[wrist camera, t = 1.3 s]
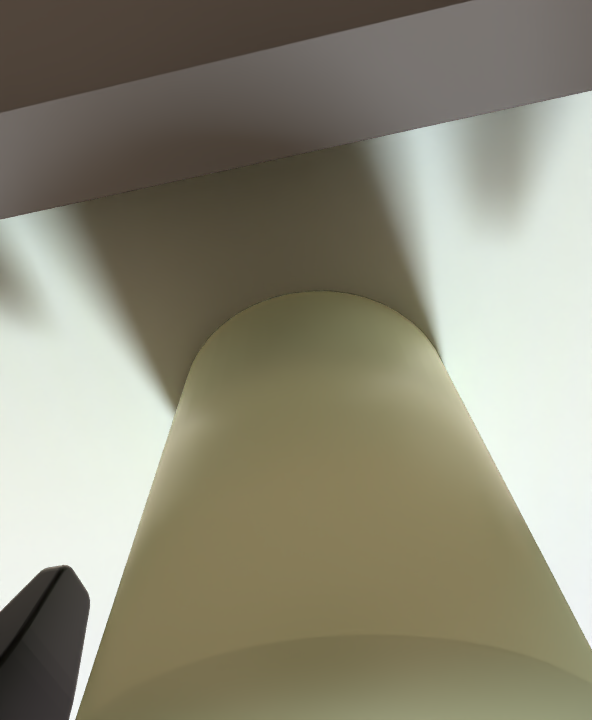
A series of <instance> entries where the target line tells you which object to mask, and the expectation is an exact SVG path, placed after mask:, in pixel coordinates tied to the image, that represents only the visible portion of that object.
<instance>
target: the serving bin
mask: <svg viewBox="0 0 592 720" xmlns="http://www.w3.org/2000/svg"><path fill="white" fill-rule="evenodd" d="M587 91H592V0H0V219H5V218H9V217H14V216H18V215H23V214H28V213H32V212H37V211H41V210H46V209H51V208H55V207H60V206H64V205H69V204H74V203H78V202H83V201H87V200H92V199H96V198H101V197H106V196H110V195H115V194H119V193H124V192H129V191H133V190H138V189H142V188H147V187H151V186H156V185H161V184H165V183H170V182H174V181H179V180H184V179H188V178H193V177H197V176H202V175H206V174H211V173H216V172H220V171H225V170H229V169H234V168H239V167H243V166H248V165H252V164H257V163H261V162H266V161H271V160H275V159H280V158H284V157H289V156H294V155H298V154H303V153H307V152H312V151H317V150H321V149H326V148H330V147H335V146H339V145H344V144H349V143H353V142H358V141H362V140H367V139H372V138H376V137H381V136H385V135H390V134H394V133H399V132H404V131H408V130H413V129H417V128H422V127H427V126H431V125H436V124H440V123H445V122H449V121H454V120H459V119H463V118H468V117H472V116H477V115H482V114H486V113H491V112H495V111H500V110H504V109H509V108H514V107H518V106H523V105H527V104H532V103H537V102H541V101H546V100H550V99H555V98H560V97H564V96H569V95H573V94H578V93H582V92H587Z"/></svg>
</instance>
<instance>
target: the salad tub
mask: <svg viewBox="0 0 592 720" xmlns="http://www.w3.org/2000/svg"><path fill="white" fill-rule="evenodd" d="M75 720H592V649H591V647H590V646H589V644H588V642H587V640H586V638H585V636H584V634H583V632H582V630H581V628H580V626H579V624H578V622H577V621H576V619H575V617H574V615H573V613H572V611H571V609H570V607H569V605H568V603H567V601H566V599H565V597H564V596H563V594H562V592H561V590H560V588H559V586H558V584H557V582H556V580H555V578H554V576H553V574H552V572H551V571H550V569H549V567H548V565H547V563H546V561H545V559H544V557H543V555H542V553H541V551H540V549H539V547H538V546H537V544H536V542H535V540H534V538H533V536H532V534H531V532H530V530H529V528H528V526H527V524H526V522H525V520H524V519H523V517H522V515H521V513H520V511H519V509H518V507H517V505H516V503H515V501H514V499H513V497H512V495H511V494H510V492H509V490H508V488H507V486H506V484H505V482H504V480H503V478H502V476H501V474H500V472H499V470H498V469H497V467H496V465H495V463H494V461H493V459H492V457H491V455H490V453H489V451H488V449H487V447H486V445H485V444H484V442H483V440H482V438H481V436H480V434H479V432H478V430H477V428H476V426H475V424H474V422H473V420H472V419H471V417H470V415H469V413H468V411H467V409H466V407H465V405H464V403H463V401H462V399H461V397H460V395H459V394H458V392H457V390H456V388H455V386H454V384H453V382H452V380H451V378H450V376H449V374H448V372H447V370H446V369H445V367H444V365H443V363H442V361H441V359H440V357H439V355H438V353H437V351H436V349H435V348H434V346H433V345H432V344H431V342H430V341H429V339H428V338H427V337H426V335H425V334H424V333H423V332H422V331H421V330H420V329H419V328H418V327H417V326H416V325H415V324H414V323H412V322H411V321H410V320H408V319H407V318H406V317H404V316H403V315H402V314H400V313H399V312H397V311H395V310H393V309H391V308H390V307H388V306H386V305H384V304H381V303H379V302H376V301H374V300H371V299H369V298H365V297H361V296H357V295H353V294H349V293H342V292H333V291H306V292H298V293H291V294H286V295H282V296H278V297H274V298H271V299H268V300H265V301H263V302H260V303H258V304H255V305H253V306H251V307H249V308H247V309H245V310H244V311H242V312H240V313H238V314H236V315H235V316H234V317H232V318H231V319H230V320H228V321H227V322H226V323H224V324H223V325H222V326H220V327H219V328H218V329H217V330H216V331H215V332H214V333H213V334H212V335H211V336H210V337H209V339H208V340H207V341H206V342H205V344H204V345H203V346H202V348H201V349H200V350H199V352H198V354H197V356H196V358H195V359H194V361H193V363H192V365H191V368H190V371H189V374H188V376H187V379H186V382H185V385H184V388H183V391H182V395H181V398H180V401H179V404H178V407H177V410H176V413H175V416H174V419H173V422H172V425H171V428H170V431H169V434H168V437H167V440H166V444H165V447H164V450H163V453H162V456H161V459H160V462H159V465H158V468H157V471H156V474H155V477H154V480H153V483H152V486H151V489H150V493H149V496H148V499H147V502H146V505H145V508H144V511H143V514H142V517H141V520H140V523H139V526H138V529H137V532H136V535H135V539H134V542H133V545H132V548H131V551H130V554H129V557H128V560H127V563H126V566H125V569H124V572H123V575H122V578H121V581H120V584H119V588H118V591H117V594H116V597H115V600H114V603H113V606H112V609H111V612H110V615H109V618H108V621H107V624H106V627H105V630H104V634H103V637H102V640H101V643H100V646H99V649H98V652H97V655H96V658H95V661H94V664H93V667H92V670H91V673H90V676H89V679H88V683H87V686H86V689H85V692H84V695H83V698H82V701H81V704H80V707H79V710H78V713H77V716H76V719H75Z"/></svg>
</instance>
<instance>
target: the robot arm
mask: <svg viewBox="0 0 592 720" xmlns="http://www.w3.org/2000/svg"><path fill="white" fill-rule="evenodd" d="M89 609H90V599H89V595H88V592H87V590H86V589H85V587H84V586H83V584H82V583H81V581H80V580H79V578H78V577H77V575H76V574H75V572H74V570H73V569H72V568H71V567H70V566H68V565H61V566H55V567H49V568H45V569H43V570H42V571H41V572H40V573H38V574H37V575H36V576H35V577H34V578H33V579H32V580H31V581H30V582H29V583H28V584H27V585H26V586H25V587H24V588H23V589H22V590H21V591H20V592H19V593H18V594H17V595H16V596H15V597H14V598H13V599H12V600H11V601H10V602H9V603H8V604H7V605H6V606H5V607H4V608H3V609H2V610H1V611H0V720H69V717H70V713H71V709H72V705H73V700H74V695H75V690H76V685H77V679H78V674H79V668H80V662H81V656H82V650H83V644H84V638H85V633H86V627H87V621H88V615H89Z"/></svg>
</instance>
